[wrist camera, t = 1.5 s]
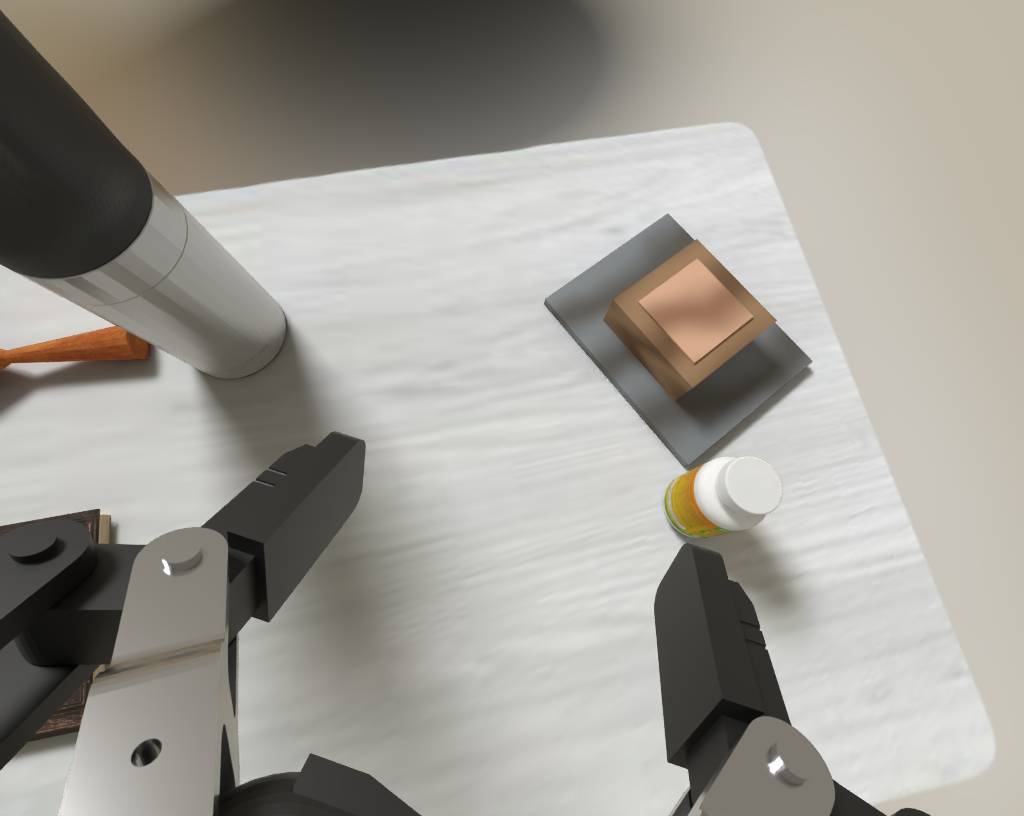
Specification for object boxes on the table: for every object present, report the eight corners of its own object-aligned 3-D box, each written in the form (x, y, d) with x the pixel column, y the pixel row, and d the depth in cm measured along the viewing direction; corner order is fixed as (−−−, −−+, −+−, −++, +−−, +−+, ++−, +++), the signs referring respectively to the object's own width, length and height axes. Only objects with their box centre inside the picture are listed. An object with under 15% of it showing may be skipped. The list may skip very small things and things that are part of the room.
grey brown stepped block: (544, 303, 45) (549, 275, 40) (664, 219, 47) (684, 183, 42) (684, 466, 41) (709, 458, 36) (805, 365, 44) (845, 343, 39)
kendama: (119, 367, 38) (-170, 405, 35) (163, 378, 44) (-81, 411, 41) (111, 297, 38) (-176, 329, 35) (156, 318, 44) (-87, 346, 41)
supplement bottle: (679, 548, 38) (741, 538, 29) (650, 488, 40) (700, 461, 31) (733, 524, 39) (810, 508, 30) (702, 467, 41) (766, 435, 32)
